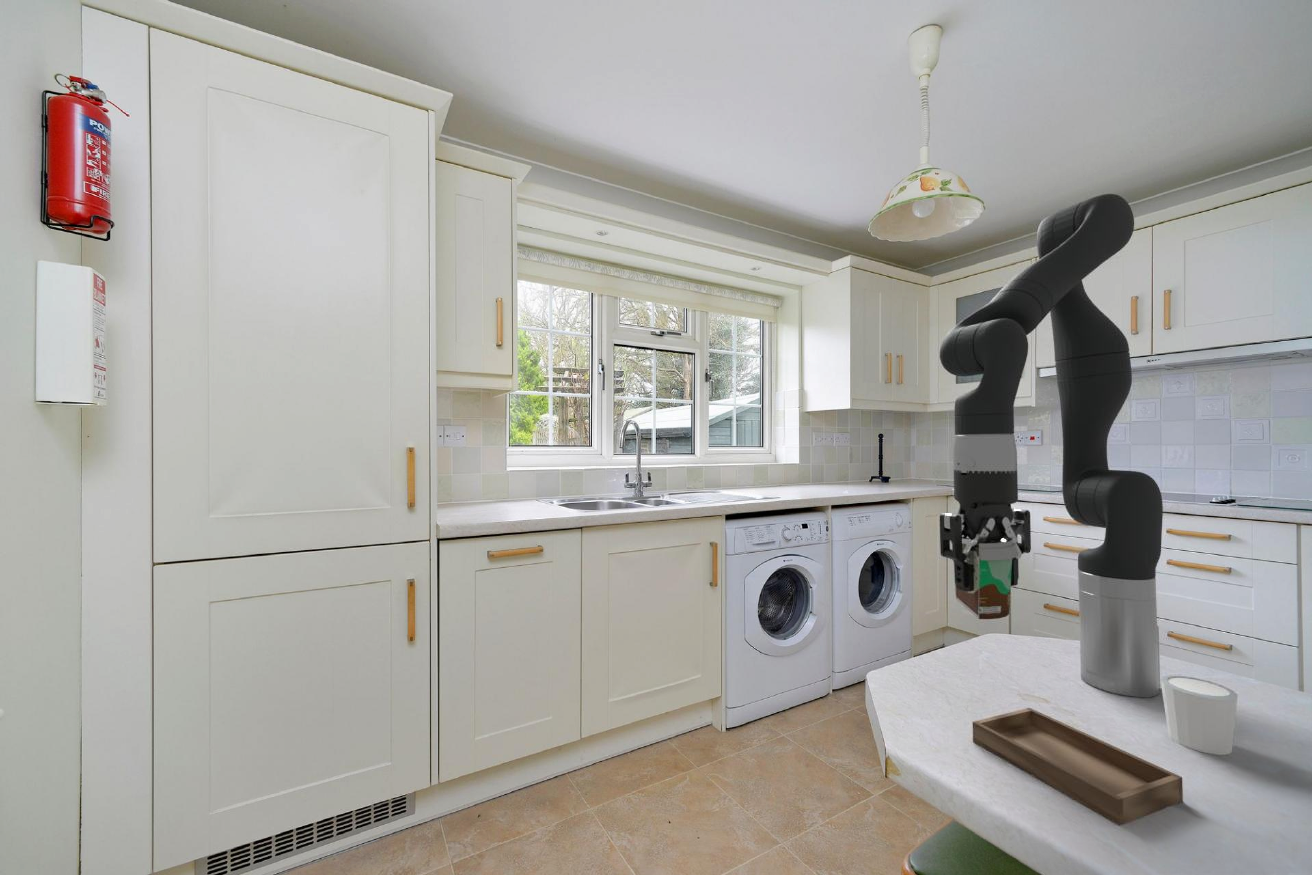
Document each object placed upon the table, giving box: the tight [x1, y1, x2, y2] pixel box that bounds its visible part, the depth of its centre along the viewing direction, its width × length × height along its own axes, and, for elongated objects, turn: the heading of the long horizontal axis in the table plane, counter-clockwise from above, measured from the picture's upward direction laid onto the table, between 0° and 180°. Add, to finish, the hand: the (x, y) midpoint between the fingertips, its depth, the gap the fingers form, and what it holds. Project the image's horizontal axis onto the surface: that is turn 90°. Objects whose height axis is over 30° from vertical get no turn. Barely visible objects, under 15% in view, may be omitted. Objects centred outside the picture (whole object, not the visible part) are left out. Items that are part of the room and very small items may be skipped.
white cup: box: [1160, 675, 1239, 756], centre depth 68 cm, size 7×7×7 cm
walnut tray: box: [972, 707, 1184, 826], centre depth 63 cm, size 10×16×2 cm, turn 20°
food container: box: [950, 536, 1018, 620], centre depth 74 cm, size 12×6×10 cm, turn 167°
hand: (987, 587), depth 74 cm, fingers closed on food container, 7 cm apart
